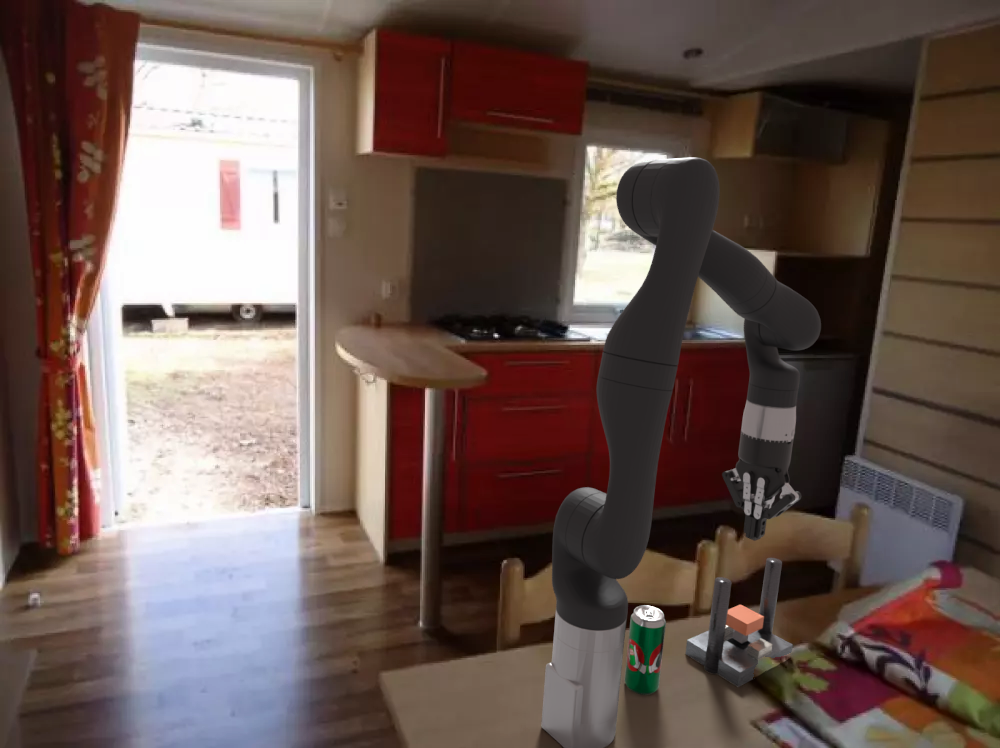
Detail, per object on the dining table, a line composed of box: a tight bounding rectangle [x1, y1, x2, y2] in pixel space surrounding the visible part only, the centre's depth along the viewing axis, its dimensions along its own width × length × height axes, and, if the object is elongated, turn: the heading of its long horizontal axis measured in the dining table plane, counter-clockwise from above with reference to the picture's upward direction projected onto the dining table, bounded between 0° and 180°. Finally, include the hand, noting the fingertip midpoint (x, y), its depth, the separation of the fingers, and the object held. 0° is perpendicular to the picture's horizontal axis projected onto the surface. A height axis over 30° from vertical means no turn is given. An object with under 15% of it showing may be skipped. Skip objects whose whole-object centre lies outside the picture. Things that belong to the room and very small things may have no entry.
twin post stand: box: [685, 557, 794, 688], centre depth 114 cm, size 16×10×15 cm, turn 126°
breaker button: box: [726, 604, 764, 643], centre depth 114 cm, size 4×4×4 cm
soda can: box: [624, 604, 667, 696], centre depth 105 cm, size 5×5×12 cm
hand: (753, 538), depth 111 cm, fingers closed
